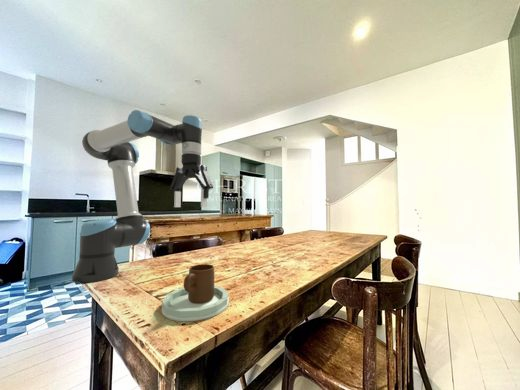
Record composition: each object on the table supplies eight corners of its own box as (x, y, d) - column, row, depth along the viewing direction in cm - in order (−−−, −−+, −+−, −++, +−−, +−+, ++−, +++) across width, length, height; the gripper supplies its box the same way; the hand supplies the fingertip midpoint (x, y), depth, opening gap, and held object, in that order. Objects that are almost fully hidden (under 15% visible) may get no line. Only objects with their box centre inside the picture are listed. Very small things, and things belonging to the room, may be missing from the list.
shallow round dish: (145, 312, 58) (146, 303, 58) (193, 288, 75) (193, 281, 75) (201, 328, 50) (201, 317, 50) (240, 298, 67) (240, 290, 67)
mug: (196, 313, 56) (197, 276, 56) (172, 309, 58) (173, 273, 59) (218, 295, 67) (218, 265, 68) (197, 292, 69) (198, 263, 70)
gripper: (161, 155, 88) (159, 207, 87) (210, 149, 78) (209, 207, 76) (175, 159, 95) (174, 207, 93) (222, 153, 85) (221, 207, 83)
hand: (190, 207), depth 85 cm, fingers open, 13 cm apart
